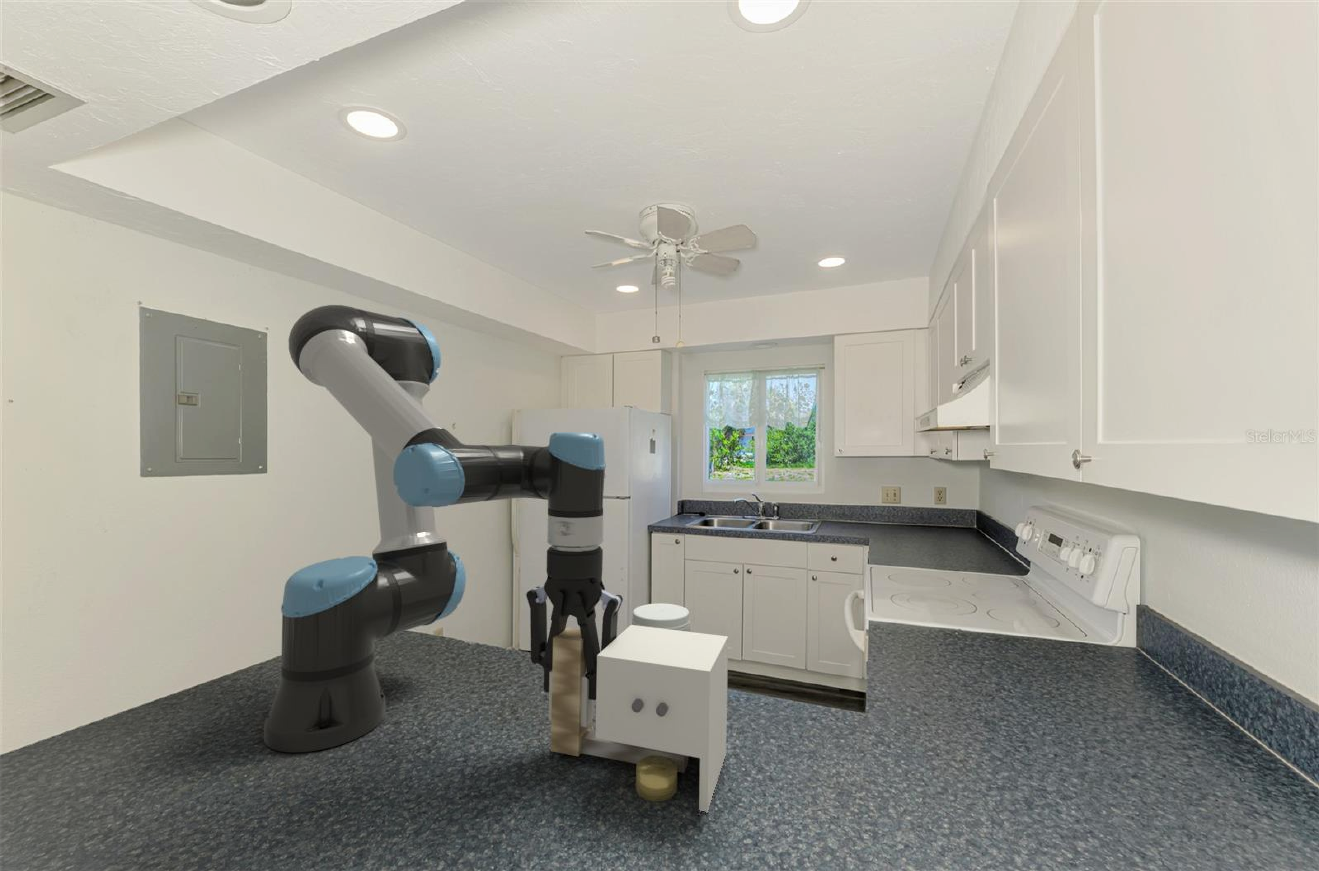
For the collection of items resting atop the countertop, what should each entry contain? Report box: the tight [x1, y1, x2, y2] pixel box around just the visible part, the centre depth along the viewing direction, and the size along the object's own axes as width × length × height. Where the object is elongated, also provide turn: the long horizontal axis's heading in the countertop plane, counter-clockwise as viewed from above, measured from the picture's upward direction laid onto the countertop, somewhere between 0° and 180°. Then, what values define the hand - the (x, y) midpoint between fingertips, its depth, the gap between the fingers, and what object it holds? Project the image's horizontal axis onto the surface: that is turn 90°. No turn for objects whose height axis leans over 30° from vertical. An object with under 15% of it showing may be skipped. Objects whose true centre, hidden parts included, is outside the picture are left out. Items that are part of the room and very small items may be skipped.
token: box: [635, 755, 678, 802], centre depth 66 cm, size 5×5×2 cm
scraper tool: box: [550, 627, 689, 774], centre depth 71 cm, size 18×4×15 cm, turn 74°
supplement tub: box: [631, 602, 691, 632], centre depth 88 cm, size 10×10×15 cm
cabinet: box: [595, 624, 729, 814], centre depth 69 cm, size 14×13×16 cm
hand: (571, 718), depth 73 cm, fingers closed on scraper tool, 4 cm apart
